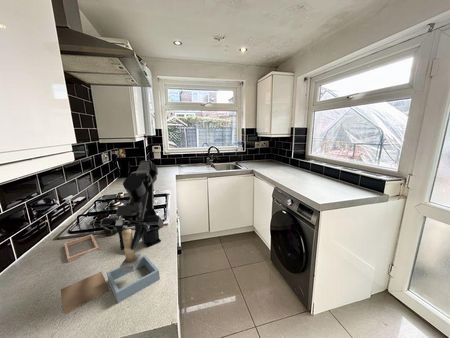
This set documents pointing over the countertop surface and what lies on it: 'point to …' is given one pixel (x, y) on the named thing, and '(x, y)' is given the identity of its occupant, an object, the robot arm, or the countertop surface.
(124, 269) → the rubber stamp
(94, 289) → the far plate
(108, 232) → the tape measure
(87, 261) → the countertop surface
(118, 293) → the box
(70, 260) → the pink rectangular frame
